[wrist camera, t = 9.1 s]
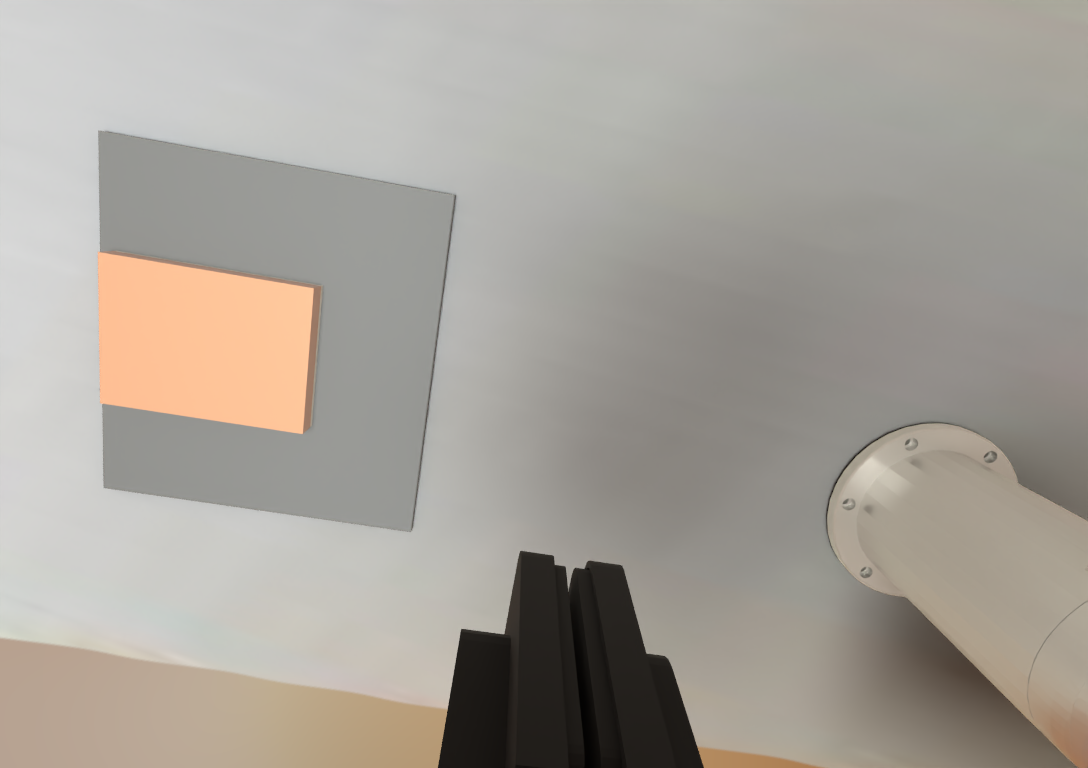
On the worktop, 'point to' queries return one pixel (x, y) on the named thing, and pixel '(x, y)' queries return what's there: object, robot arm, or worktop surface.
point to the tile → (207, 341)
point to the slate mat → (344, 336)
